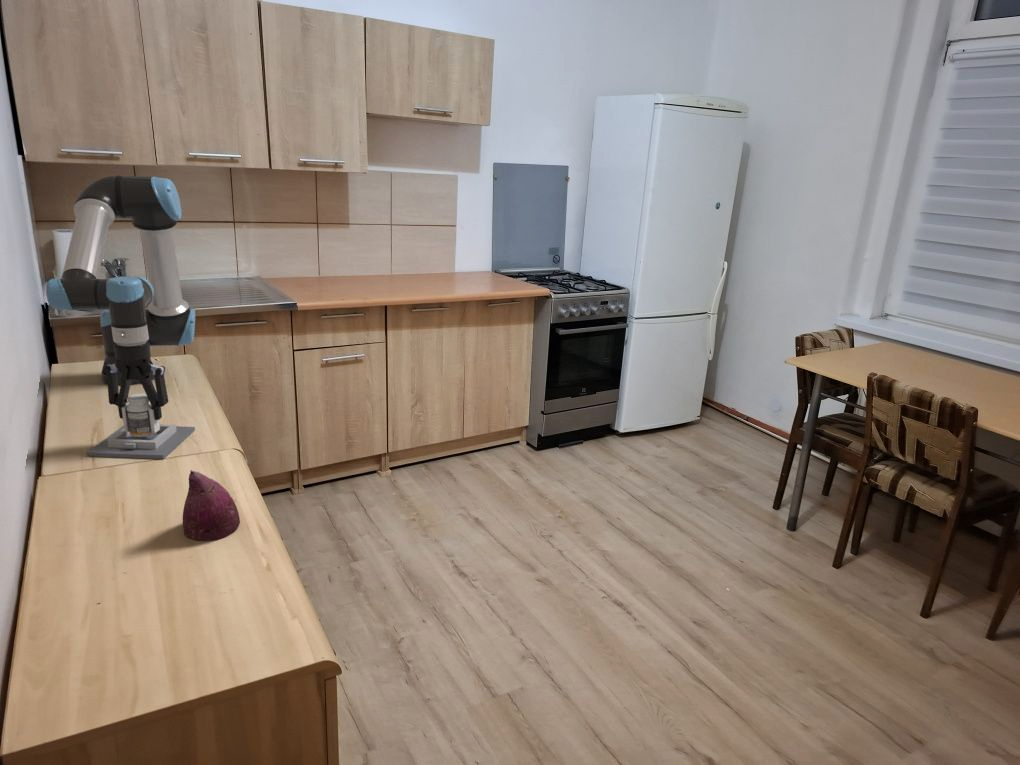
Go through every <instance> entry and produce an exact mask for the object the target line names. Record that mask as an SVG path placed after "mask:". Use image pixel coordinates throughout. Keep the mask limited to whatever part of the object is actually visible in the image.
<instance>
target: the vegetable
mask: <svg viewBox="0 0 1020 765" xmlns="http://www.w3.org/2000/svg"><path fill="white" fill-rule="evenodd" d="M187 490H188V491H187V495H186V497H185V501H184V505H183V509H182V527H183V536H185V537H186V538H188V539H190V540H194V541H198V542H206V541H215V540H221V539H223V538H226V537H228V536H229V535H232V534H233V533H236V531H237V530H238V528H239V526H240V524H241V519H240V514H239V511H238V507H237V505H236V502H235V500H234V499H233V497H232V496H231V494H230V493H229V491H228V490H227V489H226V488H224V487H223V485H221V484H220V483H219V482H217V481H216V480H214V479H213V478H210V477H208V476H206V475H205V474H203V473H201V472H200V471H195V470H193V469H190V473H189V475H188V489H187Z"/></svg>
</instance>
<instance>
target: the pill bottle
mask: <svg viewBox="0 0 1020 765" xmlns="http://www.w3.org/2000/svg"><path fill="white" fill-rule="evenodd" d="M127 401H128V402H127V403H128V404H129V405H128V406H127V417H128V425H129V431H130V434H131V435H132V436H134V437H144V436H149V435H151V434H153V433H152V430H151V421H150V413H149V409H150V408H151V407H152V406H151V403H150V401H149V399H148V397H147V395H146V393H134V394H133V393H132V394H131V395H128V399H127Z"/></svg>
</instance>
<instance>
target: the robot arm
mask: <svg viewBox="0 0 1020 765" xmlns="http://www.w3.org/2000/svg"><path fill="white" fill-rule="evenodd" d="M74 202H75V203H74V206H73V213H74V216H75V221H74V224H73V229H72V234H71V237H70V242H69V246H68V250H67V254H66V259H65V262H64V267H63V270H62V275H61V278H60V277H56V278H51V279H49V280H48V281H47V282H46V287H45V294H46V295H45V296H46V300H47V302H48V304H49V306H50V307H51V308H52V309H55V310H59V311H60V310H61V311H83V310H84V311H87V310H88V311H90V310H94V311H95V310H102V311H101V312H100V316H99V317H100V318H99V319H100V325H99V326H100V329H101V336H102V343H103V350H104V360H103V364H102V368H101V376H100V377H101V381H102V383H105V384H107V392H108V393H107V394H108V395H107V396H108V403H109V404H110V405H115V406H117V407H118V409H117V410H118V415H119V418H120V419H122V421H123V426H124V429H125V432H129V425H128V417H127V406H128V405H129V402H128V397H129V392H130V390H131V385H135V384H140V385H142V388H143V390H144V392H145V394H146V395H147V397H148V399H149V403H151V406H152V407H151V408H150V409H149V413H150V421H151V430H152V433H156V432H157V431H159V430H160V424H161V423H160V420H161V419H162V417H163V414H162V407H164V406H165V405H167V404H168V403H169V398H168V397H169V396H168V392H167V385H166V380H165V379H166V378H165V372H166V367H165V366H164V365H161V366H158V365H155V364H154V362H152V359H151V358H152V357H151V354H152V353H151V347H163V346H165V347H167V346H173V347H174V346H177V347H180V346H189V345H191V344H192V343H193V342H194V339H195V330H196V328H195V327H196V310H195V309H193V308H190V305H189V303H188V301H187V300H185V299H183V294H182V287H181V281H180V280H181V279H180V274H179V266H178V260H177V253H176V252H177V251H176V247H175V239H174V233H173V232H174V231H173V229H175V227H177V225H178V221H179V220H181V219H182V217H183V216H182V213H183V212H182V206H181V204H182V203H181V200H180V196H179V193H178V190H177V187H176V185H175V184H174V182H173V181H172V180H171V179H169V178H165V177H157V176H139V175H138V176H135V175H134V176H133V175H131V176H130V175H117V174H115V175H114V174H112V175H106V176H102V177H99V178H97V179H95V180H94V181H92V182H90V183H88V185H86V186H85V187H84V189H82V191H80V193H79V194H78V196H77V197H76V199H75V201H74ZM115 219H130V220H131V224H132V227H133V228H135V229H136V230H137V231H139V236H140V242H141V247H142V251H143V252H142V254H143V257H144V258H143V259H144V264H145V269H146V274H147V279H146V278H145V277H141V276H116V277H110V278H99V276H100V271H101V266H102V261H103V256H104V251H105V246H106V242H107V236H108V231H109V227H110V226H111V225H113V223H114V221H115ZM146 308H147V309H146ZM153 379H154V383H155V386H154V384H153V381H152V380H153ZM159 423H160V424H159Z"/></svg>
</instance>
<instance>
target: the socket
mask: <svg viewBox="0 0 1020 765" xmlns="http://www.w3.org/2000/svg"><path fill="white" fill-rule="evenodd" d="M159 424H160V430H159V431H157V432H156V433H153V434H151V435H149V436H144V437H134V436H132V435H131V434H130V431H129V432H125V429H124V425H122V426H121V427H119V428H118V429H117V430H116V431H114V432H113V433H111V434H110V435H109V436H107V437H106V438H104V439H103V440H102V441H100V442H99V443H98V444H96V445H95V446H93V447H92V448H90V449H89V450H88V451H86V456H87V457H99V458H101V457H103V458H126V459H127V458H128V459H130V458H131V459H150V460H151V459H153V460H165V459H166V458H167V457H168V456H169V455H171V454H172V452H174V451H175V450H176V449H178V447H179V446H180V445H181V444H182V443H183V442H184V441H185V440H187V439H188V437H190V436H191V435H192V434H193V433H194V432H195V431H196V427H195V426H182V425H181V426H179V425H176V424H166V423H165V424H162V423H161V422H159Z"/></svg>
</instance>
